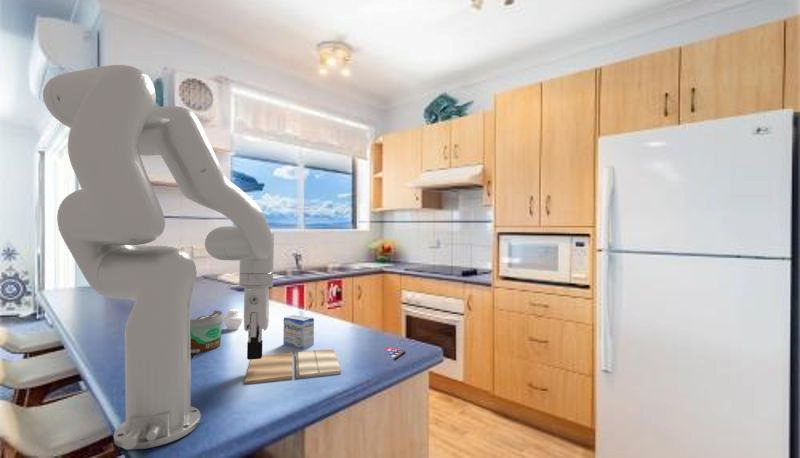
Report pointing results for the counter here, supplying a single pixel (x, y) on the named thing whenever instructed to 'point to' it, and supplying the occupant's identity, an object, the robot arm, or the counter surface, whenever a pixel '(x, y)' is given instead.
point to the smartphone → (395, 352)
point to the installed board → (316, 363)
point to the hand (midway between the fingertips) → (254, 358)
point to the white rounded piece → (233, 319)
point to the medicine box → (298, 331)
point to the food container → (205, 332)
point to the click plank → (270, 368)
